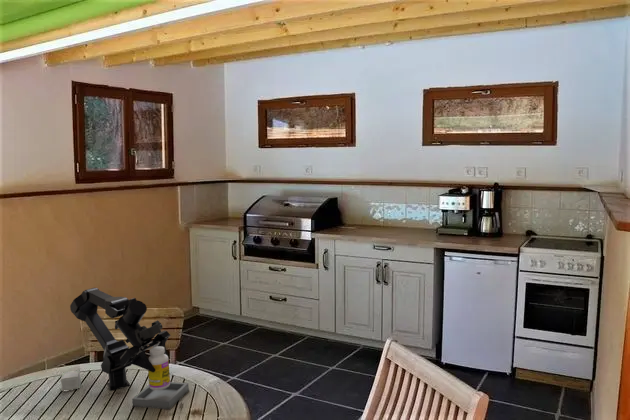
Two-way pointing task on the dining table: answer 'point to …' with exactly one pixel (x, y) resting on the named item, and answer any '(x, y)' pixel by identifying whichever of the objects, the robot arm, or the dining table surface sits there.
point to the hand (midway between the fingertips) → (161, 367)
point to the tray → (160, 396)
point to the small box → (71, 380)
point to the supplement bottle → (159, 369)
